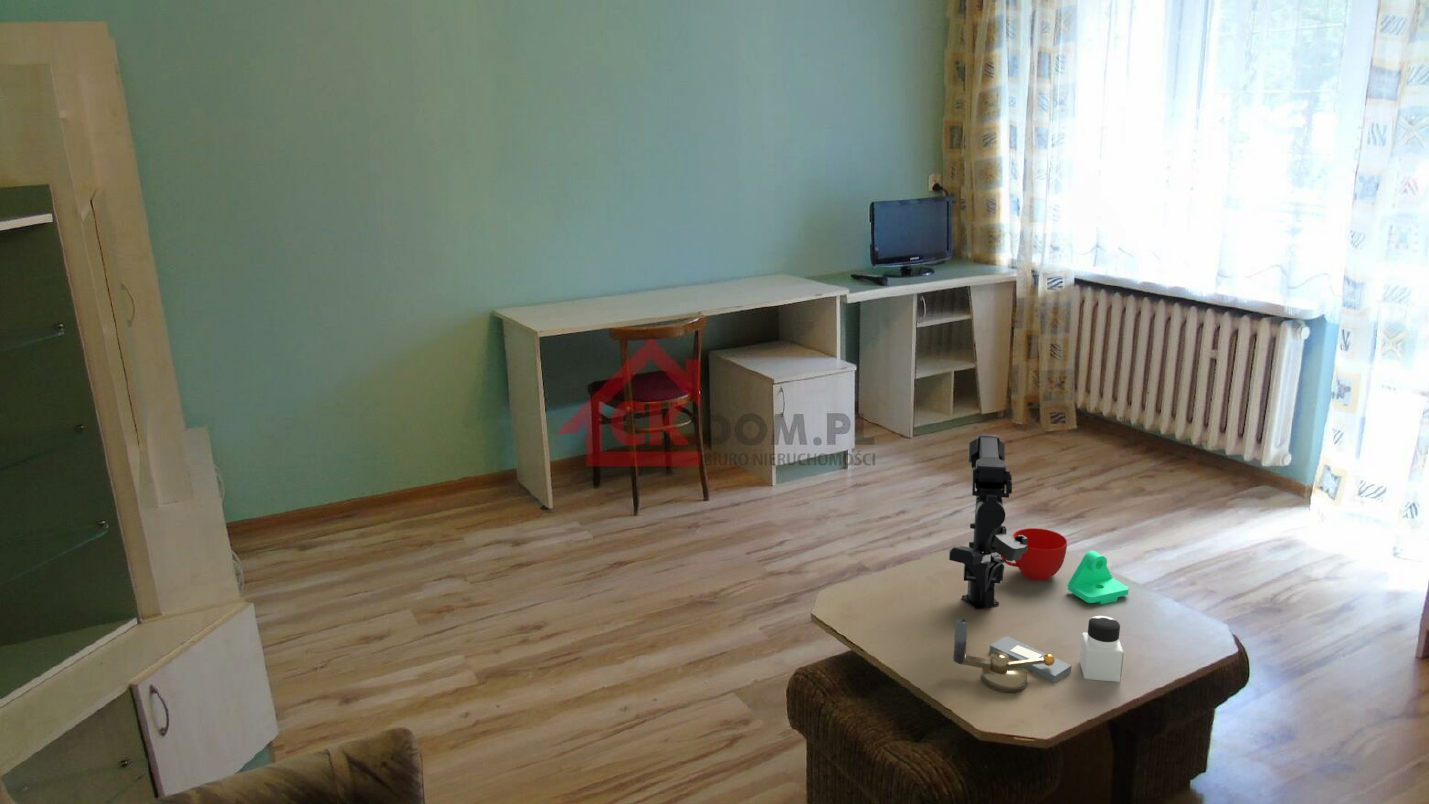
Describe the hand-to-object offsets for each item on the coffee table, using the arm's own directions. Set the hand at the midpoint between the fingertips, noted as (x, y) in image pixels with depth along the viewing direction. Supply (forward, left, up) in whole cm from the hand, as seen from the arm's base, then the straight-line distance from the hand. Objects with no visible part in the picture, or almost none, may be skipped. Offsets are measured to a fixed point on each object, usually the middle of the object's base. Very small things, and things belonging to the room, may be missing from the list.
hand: (983, 590), depth 217 cm
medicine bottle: (+20, +16, -12) cm, 28 cm away
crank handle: (+15, -4, -12) cm, 19 cm away
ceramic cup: (-22, +29, -12) cm, 38 cm away
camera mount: (-8, +38, -12) cm, 40 cm away
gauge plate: (+11, +5, -12) cm, 17 cm away
